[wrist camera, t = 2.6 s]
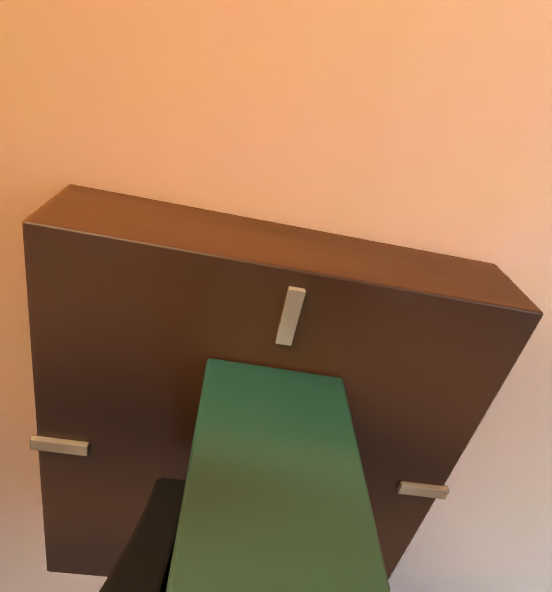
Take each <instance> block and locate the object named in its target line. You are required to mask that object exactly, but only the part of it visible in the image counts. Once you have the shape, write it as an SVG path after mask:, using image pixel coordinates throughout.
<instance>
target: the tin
mask: <svg viewBox="0 0 552 592" xmlns="http://www.w3.org/2000/svg"><path fill="white" fill-rule="evenodd" d="M166 592H390V587H389V583H388V579H387V574H386V570H385V565H384V561H383V556H382V552H381V547H380V543H379V538H378V534H377V529H376V525H375V521H374V516H373V512H372V507H371V503H370V498H369V494H368V489H367V485H366V480H365V476H364V471H363V467H362V463H361V458H360V454H359V449H358V445H357V440H356V436H355V431H354V427H353V422H352V418H351V414H350V409H349V405H348V400H347V396H346V391H345V387H344V382H343V379H342V378H339V377H333V376H326V375H319V374H313V373H306V372H299V371H293V370H286V369H279V368H273V367H266V366H260V365H253V364H246V363H240V362H233V361H226V360H220V359H213V358H209V359H208V360H207V363H206V368H205V374H204V379H203V385H202V391H201V396H200V402H199V408H198V413H197V419H196V425H195V430H194V436H193V442H192V447H191V453H190V459H189V464H188V470H187V475H186V481H185V487H184V492H183V498H182V504H181V509H180V515H179V521H178V526H177V532H176V538H175V543H174V549H173V554H172V560H171V566H170V571H169V577H168V583H167V588H166Z"/></svg>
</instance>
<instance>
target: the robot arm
mask: <svg viewBox="0 0 552 592" xmlns="http://www.w3.org/2000/svg"><path fill="white" fill-rule="evenodd" d="M185 481H186V480H180V479H172V478H163V477H161V478H159V479H157V480H156V481H155V484H154V487H153V490H152V493H151V495H150V497H149V500H148V502H147V505H146V507H145V509H144V511H143V513H142V516H141V518H140V520H139V522H138V524H137V526H136V528H135V530H134V532H133V534H132V536H131V537H130V539H129V541H128V543H127V545H126V546H125V548H124V550H123V552H122V554H121V555H120V557H119V559H118V561H117V563H116V564H115V566H114V568H113V570H112V571H111V573H110V575H109V576H108V578H107V580H106V581H105V583H104V585H103V586H102V588H101V589H100V591H99V592H166V588H167V583H168V577H169V571H170V566H171V560H172V554H173V549H174V543H175V538H176V532H177V526H178V521H179V515H180V509H181V504H182V498H183V492H184V487H185Z"/></svg>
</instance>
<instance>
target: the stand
mask: <svg viewBox="0 0 552 592" xmlns="http://www.w3.org/2000/svg"><path fill="white" fill-rule="evenodd" d="M22 225H23V239H24V253H25V267H26V281H27V295H28V309H29V323H30V337H31V351H32V365H33V379H34V393H35V407H36V421H37V435H38V436H34V435H32V437H31V438H30V449H31V450H39V463H40V477H41V491H42V505H43V519H44V533H45V547H46V561H47V571H50V572H61V573H72V574H83V575H95V576H106V577H108V576H109V575H110V573H111V571H112V570H113V568H114V566H115V564H116V563H117V561H118V559H119V557H120V555H121V554H122V552H123V550H124V548H125V546H126V545H127V543H128V541H129V539H130V537H131V536H132V534H133V532H134V530H135V528H136V526H137V524H138V522H139V520H140V518H141V516H142V513H143V511H144V509H145V507H146V505H147V502H148V500H149V497H150V495H151V493H152V490H153V487H154V484H155V481H156V480H157V479H159V478H161V477H163V478H172V479H180V480H186V475H187V470H188V464H189V459H190V453H191V447H192V442H193V436H194V430H195V425H196V419H197V413H198V408H199V402H200V396H201V391H202V385H203V379H204V374H205V368H206V363H207V360H208V359H209V358H213V359H220V360H226V361H233V362H240V363H246V364H253V365H260V366H266V367H273V368H279V369H286V370H293V371H299V372H306V373H313V374H319V375H326V376H333V377H339V378H342V379H343V382H344V387H345V391H346V396H347V400H348V405H349V409H350V414H351V418H352V422H353V427H354V431H355V436H356V440H357V445H358V449H359V454H360V458H361V463H362V467H363V471H364V476H365V480H366V485H367V489H368V494H369V498H370V503H371V507H372V512H373V516H374V521H375V525H376V529H377V534H378V538H379V543H380V547H381V552H382V556H383V561H384V565H385V570H386V574H387V579H389V578H390V576H391V574H392V573H393V571H394V569H395V567H396V566H397V564H398V562H399V561H400V559H401V557H402V556H403V554H404V552H405V550H406V549H407V547H408V545H409V544H410V542H411V540H412V538H413V537H414V535H415V533H416V532H417V530H418V528H419V526H420V525H421V523H422V521H423V520H424V518H425V516H426V514H427V513H428V511H429V509H430V508H431V506H432V504H433V503H434V501H435V499H436V498H438V499H445V498H446V496H447V495H448V493H449V489H448V487H446V486H443V485H444V484H445V482H446V480H447V479H448V477H449V475H450V473H451V472H452V470H453V468H454V467H455V465H456V463H457V461H458V460H459V458H460V456H461V455H462V453H463V451H464V449H465V448H466V446H467V444H468V443H469V441H470V439H471V438H472V436H473V434H474V432H475V431H476V429H477V427H478V426H479V424H480V422H481V420H482V419H483V417H484V415H485V414H486V412H487V410H488V408H489V407H490V405H491V403H492V402H493V400H494V398H495V396H496V395H497V393H498V391H499V390H500V388H501V386H502V385H503V383H504V381H505V379H506V378H507V376H508V374H509V373H510V371H511V369H512V367H513V366H514V364H515V362H516V361H517V359H518V357H519V355H520V354H521V352H522V350H523V349H524V347H525V345H526V343H527V342H528V340H529V338H530V337H531V335H532V333H533V332H534V330H535V328H536V326H537V325H538V323H539V321H540V320H541V318H542V316H543V312H542V311H541V310H540V309H539V308H538V307H537V306H536V305H535V304H534V303H533V302H532V301H531V300H530V299H529V298H528V297H527V296H526V295H525V294H524V293H523V292H522V291H521V290H520V289H519V288H518V287H517V286H516V285H515V284H514V283H513V282H512V281H511V280H510V279H509V278H508V277H507V276H506V275H505V274H504V273H503V272H502V271H501V270H500V269H499V268H498V267H497V266H496V265H495V264H491V263H486V262H480V261H475V260H470V259H464V258H459V257H454V256H448V255H443V254H438V253H432V252H427V251H422V250H417V249H411V248H406V247H401V246H395V245H390V244H385V243H379V242H374V241H369V240H363V239H358V238H353V237H347V236H342V235H337V234H332V233H326V232H321V231H316V230H310V229H305V228H300V227H294V226H289V225H284V224H278V223H273V222H268V221H262V220H257V219H252V218H247V217H241V216H236V215H231V214H225V213H220V212H215V211H209V210H204V209H199V208H193V207H188V206H183V205H177V204H172V203H167V202H162V201H156V200H151V199H146V198H140V197H135V196H130V195H124V194H119V193H114V192H108V191H103V190H98V189H92V188H87V187H82V186H76V185H68V186H67V187H66V188H64V189H63V190H62V191H61V192H59V193H58V194H57V195H55V196H54V197H53V198H52V199H50V200H49V201H48V202H46V203H45V204H44V205H43V206H41V207H40V208H39V209H37V210H36V211H35V212H34V213H32V214H31V215H30V216H28V217H27V218H26V219H25V220H23V223H22Z"/></svg>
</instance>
